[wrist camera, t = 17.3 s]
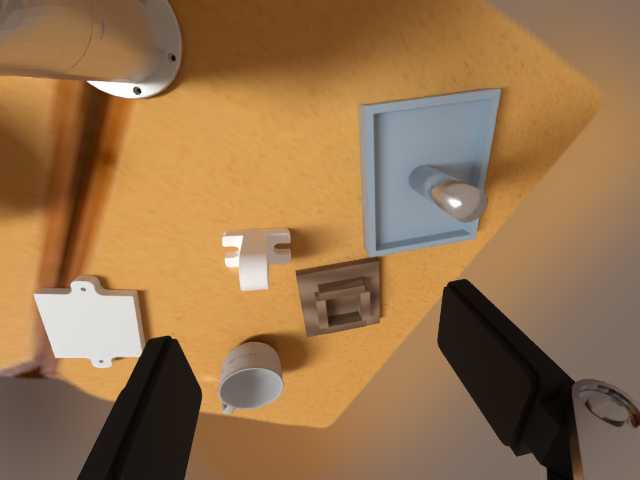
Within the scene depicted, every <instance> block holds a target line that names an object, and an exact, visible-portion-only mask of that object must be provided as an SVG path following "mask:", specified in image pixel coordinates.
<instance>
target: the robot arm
mask: <svg viewBox="0 0 640 480" xmlns="http://www.w3.org/2000/svg"><path fill="white" fill-rule="evenodd" d="M172 56H175V57H176V60H175V61H173V60H172ZM182 56H183V40H182V35H181V30H180V26H179V23H178V20H177V18H176V15H175V13H174V11H173V9H172V7H171V5H170V3H169V1H168V0H0V76H13V77H28V78H44V79H61V80H78V81H87V82H88V83H90V84H91V85H93V86H94V87H96V88H98V89H100V90H101V91H103V92H106V93H108V94H111V95H113V96H117V97H122V98H126V99H142V98H148V97H151V96H155V95H157V94H159V93H160V92H162V91H164V90H165V89H166V88H167V87H168V86H169V85H171V84H172V82H173V81H174V79H175V78H176V76H177V74H178V72H179V69H180V66H181V62H182ZM139 88H140V89H141V93H139V92H138V89H139ZM437 341H438V346H439V348H440V350H441V352H442V353H443V355H444V356H445V358H446V359H447V361H448V362H449V364H450V365H451V366H452V368H453V370H454V371H455V373H456V374H457V376H458V377H459V379H460V380H461V382H462V383H463V385H464V386H465V388H466V389H467V391H468V392H469V394H470V395H471V397H472V398H473V400H474V401H475V403H476V404H477V406H478V407H479V409H480V410H481V412H482V413H483V415H484V416H485V418H486V419H487V421H488V423H489V424H490V426H491V427H492V429H493V430H494V432H495V433H496V435H497V436H498V438H499V439H500V440H501V442H502V443H503V444H504V445H506V446H510V448H511V449H512V451H513V452H514V454H515V455H516V456H521V455H525V454H529V453H533V455H534V456H535V457H536V459H537V460H538V461H539V463H540V464H541V480H640V403H639V402H638V401H637V400H636V399H634V398H633V397H632V396H630V395H629V394H628V393H627V392H625V391H623V390H621V389H619V388H618V387H616V386H614V385H611V384H609V383H606V382H604V381H599V380H595V379H582V380H579V381H577V382H575V381H573V380H572V379H571V378H570V377H569V376H568V375H567V374H566V373H565V372H564V371H563V370H562V369H561V368H560V367H559V366H558V365H557V364H556V363H555V362H554V361H553V360H551V359H550V358H549V357H548V356H547V355H546V354H545V353H544V352H543V351H542V350H541V349H540V348H539V347H538V346H537V345H536V344H535V343H534V342H533V341H531V340H530V339H529V338H528V337H527V336H526V335H525V334H524V333H523V332H522V331H521V330H520V329H519V328H518V327H517V326H516V325H515V324H514V323H512V322H511V321H510V320H509V319H508V318H507V317H506V316H505V315H504V314H503V313H502V312H501V311H500V310H499V309H498V308H497V307H495V305H494V304H492V303H491V302H490V301H489V300H488V299H487V298H486V297H485V296H484V295H483V294H482V293H481V292H480V291H479V290H478V289H477V288H476V287H475V286H474V285H473V284H471V283H470V282H469V281H468V280H466V279H462V280H456V281H451V282H449V283H448V284H447V287H444V289H443V297H442V305H441V314H440V322H439V331H438V339H437ZM201 401H202V391H201V388H200V386H199V384H198V382H197V380H196V378H195V376H194V373H193V371H192V369H191V367H190V365H189V363H188V361H187V359H186V357H185V355H184V353H183V351H182V349H181V346H180V344H179V342H178V341H177V339H172V338H171V336H163V337H158V338H152V339H150V340H148V342H147V343H146V345H145V347H144V350H143V352H142V354H141V356H140V358H139V360H138V362H137V364H136V366H135V368H134V370H133V372H132V374H131V376H130V378H129V380H128V382H127V384H126V386H125V388H124V389H123V390H122V391H121V393H120V394H119V396H118V398H117V400H116V402H115V404H114V406H113V408H112V410H111V412H110V414H109V416H108V418H107V420H106V422H105V424H104V426H103V428H102V430H101V432H100V434H99V436H98V438H97V440H96V442H95V444H94V446H93V448H92V451H91V452H90V454H89V456H88V458H87V460H86V462H85V464H84V466H83V469H82V470H81V472H80V475H79V476H78V479H77V480H184V478H185V474H186V469H187V465H188V460H189V455H190V451H191V446H192V441H193V437H194V433H195V428H196V423H197V419H198V415H199V410H200V405H201Z"/></svg>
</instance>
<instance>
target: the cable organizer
mask: <svg viewBox="0 0 640 480" xmlns="http://www.w3.org/2000/svg"><path fill="white" fill-rule="evenodd" d="M279 243H291V239H290V231H289V229H287V228H278V229H254V230H230V231H225V232H224V235H223V238H222V244H223V247H224V246H235V247H237V248H238V249H239V250H238V251H234V252H226V255H225V264H226V266H227V267H239V278H240V286H241V290H242V291H248V290H262V289H269V265H271V264H287V263H290V262H291V251H290V249H277V248H275V247H274V246H275V245H276V244H279Z"/></svg>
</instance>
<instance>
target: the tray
mask: <svg viewBox="0 0 640 480" xmlns="http://www.w3.org/2000/svg"><path fill="white" fill-rule="evenodd" d="M500 92H501V88H497V89H479V90H472V91H464V92H456V93H448V94H441V95H433V96H425V97H418V98H410V99H402V100H394V101H387V102H379V103H371V104H364V105H359V125H360V150H361V175H362V200H363V225H364V249H365V250H366V252H367V254H368V255H369V257H370V258H371V257H376V256H382V255H387V254H393V253H399V252H404V251H410V250H416V249H421V248H427V247H433V246H438V245H444V244H450V243H455V242H461V241H466V240H472V239H476V235H477V229H478V223H479V218H477V219H476V220H474V221H472V222H467V223H464V222H460V221H458V220H457V219H456V218H454V217H453V216H451V215H450V214H448V213H447V212H445V211H444V210H442V209H441V208H439V207H438V206H436V205H435V204H433V203H432V202H430V201H429V200H427V199H426V198H424V197H423V196H421V195H420V194H419V193H417V192H416V191H414V190H413V189H412V188H411V187H410V185H409V176H410V174H411V172H412V171H413V170H414V169H415V168H416V167H418V166H421V165H427V166H430V167H432V168H434V169H436V170H438V171H440V172H443V173H445V174H447V175H449V176H451V177H454V178H456V179H458V180H460V181H462V182H464V183H467V184H469V185H471V186H473V187H475V188H477V189H480V190H482V191H483V192H484V187H485V181H486V175H487V169H488V163H489V158H490V152H491V146H492V140H493V134H494V128H495V122H496V116H497V110H498V104H499V98H500Z"/></svg>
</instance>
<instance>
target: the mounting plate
mask: <svg viewBox="0 0 640 480" xmlns="http://www.w3.org/2000/svg"><path fill="white" fill-rule="evenodd" d="M34 297H35V300H36V303H37V306H38V309H39V312H40V315H41V317H42V320H43V323H44V326H45V329H46V332H47V335H48V338H49V341H50V344H51V346H52V349H53V352H54V355H55V358H88V359H90V360H91V363H92V365H93V366H94V367H97V368H108V367H110V366H111V365H112V364H113V362H114V360H115V358H116V357H140V356H141V354H142V352H143V350H144V347H145V339H144V332H143V326H142V319H141V313H140V306H139V299H138V293H137V290H108V289H104V288H103V287H102V286H101V285H100V281H99V279H98V278H97V277H95V276H91V275H81V276H78V277H77V278H76V279H75V280H74V281H73V282H72V283H71V288H40V289H38V290H37V291H36V292H35V293H34Z"/></svg>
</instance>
